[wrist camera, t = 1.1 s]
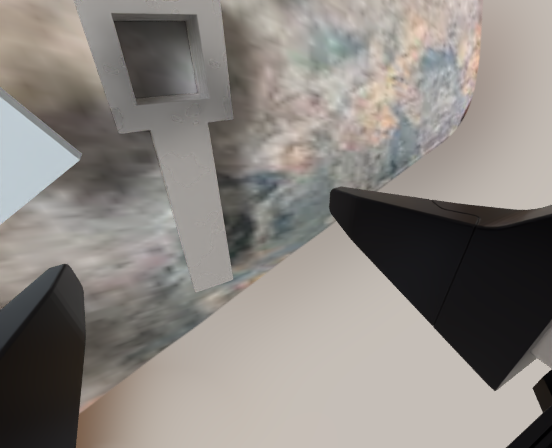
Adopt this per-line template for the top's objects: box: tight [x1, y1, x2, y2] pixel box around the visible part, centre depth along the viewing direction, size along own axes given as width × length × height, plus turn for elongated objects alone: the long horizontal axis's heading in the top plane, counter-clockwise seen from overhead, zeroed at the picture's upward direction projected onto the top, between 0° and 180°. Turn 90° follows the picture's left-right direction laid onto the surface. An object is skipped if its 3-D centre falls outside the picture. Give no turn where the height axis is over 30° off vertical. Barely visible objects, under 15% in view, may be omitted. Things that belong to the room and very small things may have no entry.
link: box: [74, 0, 233, 293], centre depth 17 cm, size 18×6×3 cm, turn 2°
